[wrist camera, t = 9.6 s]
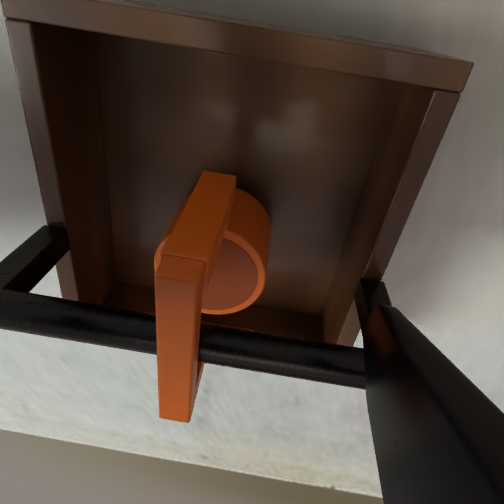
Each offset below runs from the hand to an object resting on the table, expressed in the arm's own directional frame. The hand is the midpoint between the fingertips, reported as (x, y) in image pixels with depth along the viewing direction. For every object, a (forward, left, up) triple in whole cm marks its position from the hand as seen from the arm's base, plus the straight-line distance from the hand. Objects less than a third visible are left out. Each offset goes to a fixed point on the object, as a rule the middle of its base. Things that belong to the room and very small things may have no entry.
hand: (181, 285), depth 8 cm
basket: (0, -2, -10) cm, 10 cm away
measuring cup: (0, -3, -9) cm, 9 cm away
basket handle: (0, -3, -6) cm, 6 cm away
